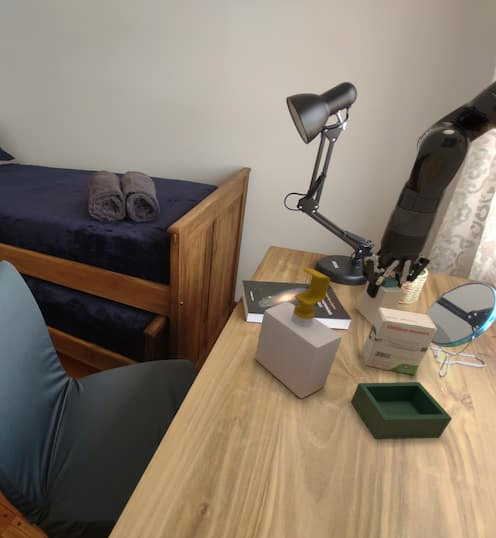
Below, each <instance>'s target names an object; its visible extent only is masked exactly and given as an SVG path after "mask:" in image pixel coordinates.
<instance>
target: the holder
mask: <svg viewBox="0 0 496 538" xmlns="http://www.w3.org/2000/svg"><path fill="white" fill-rule="evenodd" d="M350 403H351V404H352V405H353V407H354V409H355V410H356V412H357V413H358V415H359V416H360V418H361V419H362V421H363V423H364V424H365V425H366V427H367V428H368V430H369V432H370V433H371V435H372V436H373V438H374V439H375V440H381V439H382V440H384V439H385V440H388V439H426V438H427V439H432V438H433V439H434V438H440V437H441V436H442V435H443V433H444V432H445V430H446V429H447V427H448V425H449V423H450V422H451V421H452V419H453V417H451V415H450V414H449V413H448V412H447V411H446V410H445V409H444V408H443V407H442V405H441V404H440V403H439V402H438V401H437V400H436V399H435V398H434V397H433V395H432V394H431V393H430V392H429V391H428V390H427V389H426V388H425V387H424V386H423V384H422V383H421V382H419V381H407V382H406V381H402V382H401V381H399V382H397V381H395V382H358V384H357V386H356V389H355V391H354V394H353V396H352V398H351V401H350Z"/></svg>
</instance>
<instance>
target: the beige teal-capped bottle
mask: <svg viewBox="0 0 496 538" xmlns="http://www.w3.org/2000/svg"><path fill="white" fill-rule="evenodd" d="M378 276H379V275H378ZM378 276H377V278H378ZM397 284H398V281H397V280H396V279H395V278H394V276H392V275H391V273H390V274H389V276H388V277H385V278H384V280H383V281H382V283H381V284H380V285H381V286H380V288H379V290H378V293H377V295H376V298H371V297H370V296H369V295H368V294H367V292H366V290H367V288H368V285H369V282H368V281H367V280H366V283H365V286H364V289H363V291H362V294H361V297H360V300H359V302H358V305H357V308H356V309H357V311H358V312H359V313H360V314H361V315H362V316H363V318H364V319H365V320H366V321H367V322H368V323H369V324H370V325H371V326H372V324H373V322H374V319H375V317H376V314H377V312H378V309H379V307H381V308H387V309H393V310H397V309H398V306H399V304H400V301H401V299H402V297H403V294H404V292H405V291H404V290H403V289H402V288H401V289H400V288H399V287H398V286H397Z"/></svg>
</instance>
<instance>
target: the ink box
mask: <svg viewBox="0 0 496 538" xmlns="http://www.w3.org/2000/svg"><path fill="white" fill-rule="evenodd" d="M437 332H438V328H437V327H436V324H435V323H434V321H433V319H432V318H431V316H430V315H429V314H424V313H418V312H411V311H405V310H399V309H396V310H393V309H387V308H381V307H379V309H378V312H377V314H376V317H375V319H374V322H373V324H372V325H371V327H370V330H369V332H368V335H367V338H366V340H365V342H364V345H363V347H362V350H361V353H362V354H361V355H362V358H363V362H364V365H365V366H367V367H370V368H371V367H373V368H376V369H381V370H387V371H392V372H396V373H402V374H407V375H412V376H415V375H416V374H417V371H418V369H419V367H420V365H421V363H422V361H423V359H424V357H425V356H426V353H427V351H428V349H429V348H430V345H431V344H432V341H433V339H434V337H435V335H436V334H437Z"/></svg>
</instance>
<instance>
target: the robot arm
mask: <svg viewBox="0 0 496 538" xmlns="http://www.w3.org/2000/svg"><path fill="white" fill-rule="evenodd" d="M492 130H496V80H494V81H493V82H491V83H490V84H489V85H488V86H487V87H485V88H483V89H482V90H481V91H480V92H479V93H477V94H476V95H475V96H474V97H473V98H471V99H470V100H468V101H467V102H466V103H463V104H462V105H460V106H458V107H456V108H455V109H454V110H453V111H450V112H449V113H447V114H446V115H444V116H443V117H442V118H439V120H437V121H436V122H434V123H432V124H431V125H430V126H428V127H427V128H426V129H425V130H424V131H423V132H422V133H421V134H420V136H419V137H418V139H417V140H416V141H417V142H416V148H415V149H416V152H417V153H416V157H415V160H414V163H413V165H412V169H411V170H410V171H411V172H410V174H409V177H408V178H406V180H405V181H404V183H403V185H402V187H401V189H400V193H399V195H398V198H397V201H396V203H395V204H394V207H393V209H392V211H391V212H390V215H389V218H388V221H387V223H386V226H385V229H384V231H383V234H382V237H381V240H380V248H379V250H377V252H376V253H375V254H374V255H371V256H368V255H367V254H365V255H363V256H362V257H361V271H362V273H361V274H362V277H363V279H365V280H366V282H367V281H368V282H369V285H368V288H367V290H366V292H367V294H368V295H369V296H370V297H371V298H376V295H377V293H378V290H379V288H380V286H381V285H380V284H381V283H382V281H383V280H384V278H385V277H388V276H389V274H390V275H391V273H393V278H395V279H396V280H397V281H398V284H397V286H398V287H399V288H400V289H401V290H402V288H403V285H405V284H406V283H408V282H409V283H414V282H415V281H416V279H417V278H418V277H419V276H420V275H421V273H422V272H423V271H424V270H425V269H426V267H427V266H428V265H429V264H430V262H431V260H430V259H429V258H427V257H426V256H425V255H423V254H421V253H422V252H423V250H424V248H425V246H426V244H427V241H428V240H429V237H430V234H431V232H432V230H433V228H434V225H435V223H436V220H437V216H438V213H439V211H440V208H441V206H442V204H443V201H444V199H445V196H446V194H447V190H448V188H449V187H450V185H451V183H452V182H453V180H454V179H455V177H456V176H457V174H458V172H459V171H460V169H461V167H462V165H463V164H464V161H465V160H466V157H467V155H468V152H469V149H470V144H471V143H472V142H474V141H476V140H477V139H478V138H480V137H482V136H484V135H485V134H487V133H489V132H490V131H492ZM378 275H379V276H378ZM377 276H378V278H377Z"/></svg>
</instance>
